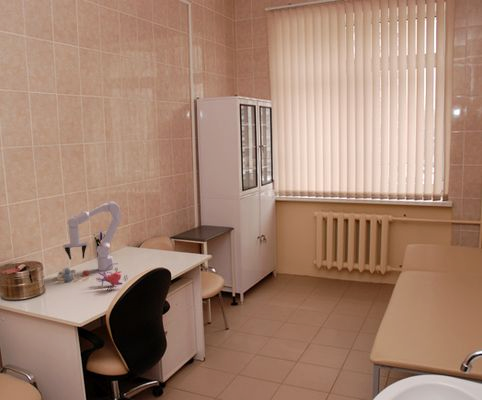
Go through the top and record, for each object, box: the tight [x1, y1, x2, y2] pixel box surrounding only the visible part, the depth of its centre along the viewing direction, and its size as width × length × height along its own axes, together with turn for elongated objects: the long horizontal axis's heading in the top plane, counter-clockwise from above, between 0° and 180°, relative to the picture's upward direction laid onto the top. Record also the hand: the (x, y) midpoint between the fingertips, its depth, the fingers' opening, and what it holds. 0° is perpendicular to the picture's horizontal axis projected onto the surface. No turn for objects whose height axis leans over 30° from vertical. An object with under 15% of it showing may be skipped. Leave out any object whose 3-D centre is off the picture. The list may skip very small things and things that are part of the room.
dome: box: [61, 267, 72, 274], centre depth 286 cm, size 6×6×6 cm
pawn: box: [64, 268, 73, 283], centre depth 279 cm, size 4×4×8 cm
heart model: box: [96, 263, 129, 292], centre depth 266 cm, size 15×9×18 cm
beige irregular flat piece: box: [54, 269, 92, 285], centre depth 284 cm, size 22×17×4 cm
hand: (76, 258), depth 293 cm, fingers open, 7 cm apart
